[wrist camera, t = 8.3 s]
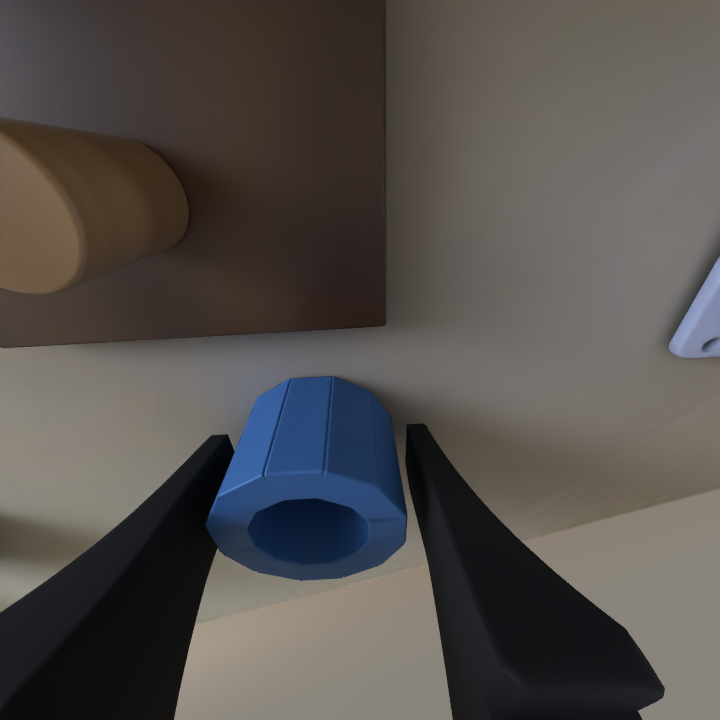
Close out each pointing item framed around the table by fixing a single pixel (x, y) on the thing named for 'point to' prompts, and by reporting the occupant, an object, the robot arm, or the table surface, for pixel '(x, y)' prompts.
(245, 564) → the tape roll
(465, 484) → the robot arm
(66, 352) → the table surface
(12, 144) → the holder
